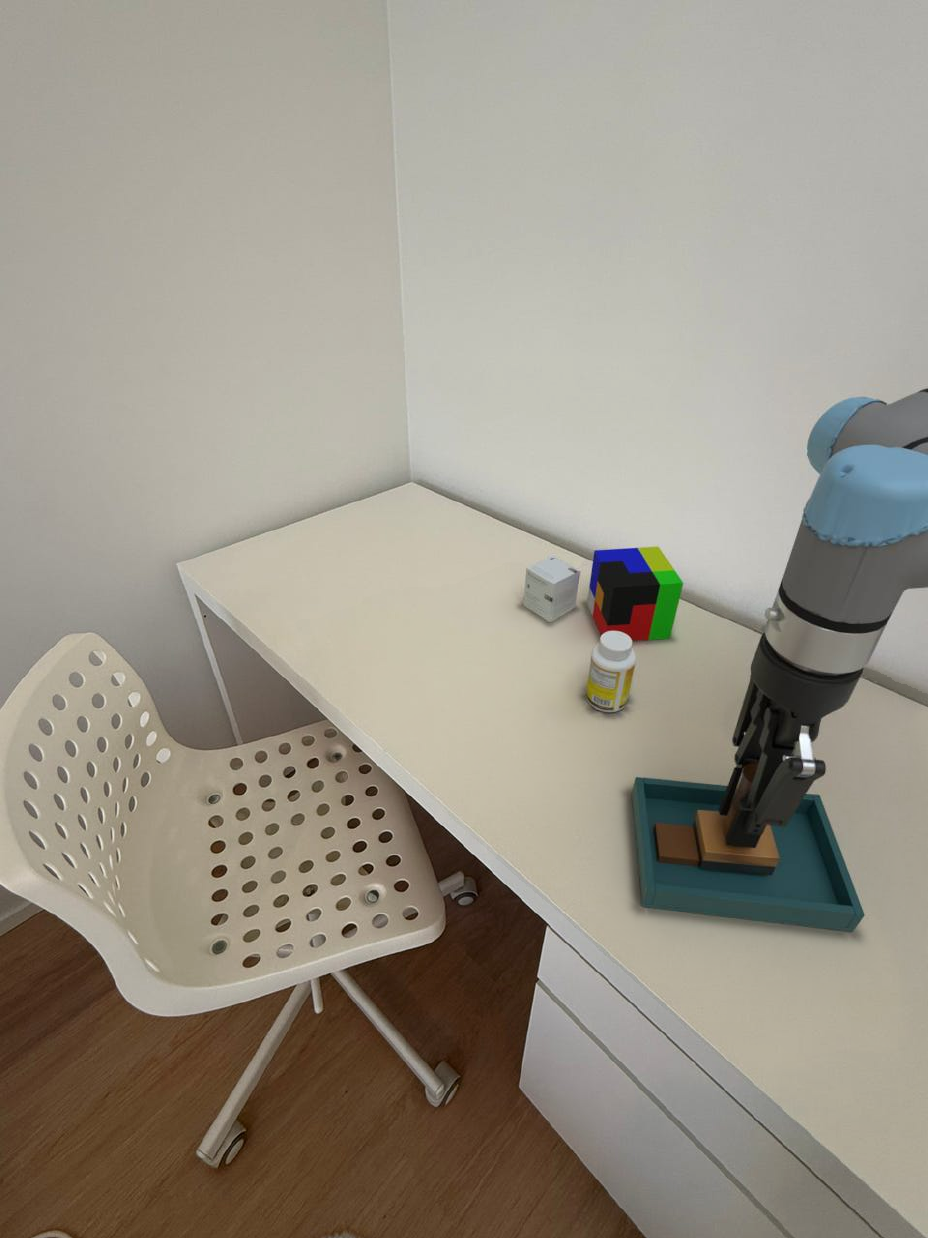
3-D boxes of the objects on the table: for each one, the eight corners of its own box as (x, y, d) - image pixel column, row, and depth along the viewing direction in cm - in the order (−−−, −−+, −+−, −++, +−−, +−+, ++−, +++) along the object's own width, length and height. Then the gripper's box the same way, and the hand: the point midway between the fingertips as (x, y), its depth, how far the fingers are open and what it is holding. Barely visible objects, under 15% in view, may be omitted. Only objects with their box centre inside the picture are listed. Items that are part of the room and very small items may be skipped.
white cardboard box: (522, 606, 103) (524, 567, 99) (548, 591, 106) (552, 553, 102) (550, 623, 99) (554, 584, 95) (576, 608, 103) (581, 569, 98)
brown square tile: (691, 833, 69) (693, 826, 68) (697, 866, 66) (699, 860, 65) (653, 829, 70) (655, 822, 69) (657, 862, 66) (659, 855, 66)
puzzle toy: (586, 604, 104) (594, 550, 98) (647, 599, 104) (658, 546, 98) (604, 643, 96) (613, 587, 90) (669, 638, 96) (683, 582, 90)
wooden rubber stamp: (760, 832, 68) (790, 756, 61) (772, 875, 65) (806, 799, 57) (692, 827, 69) (714, 751, 62) (699, 869, 65) (724, 793, 58)
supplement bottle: (618, 683, 89) (629, 624, 83) (633, 711, 84) (646, 651, 78) (579, 687, 88) (587, 628, 82) (592, 717, 84) (602, 657, 77)
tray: (810, 812, 72) (819, 794, 70) (852, 932, 61) (865, 915, 59) (631, 794, 74) (635, 776, 72) (642, 907, 63) (647, 890, 61)
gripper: (741, 586, 57) (686, 762, 71) (790, 715, 45) (711, 898, 59) (830, 593, 56) (757, 769, 71) (905, 726, 44) (797, 908, 58)
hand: (736, 827), depth 65 cm, fingers closed on wooden rubber stamp, 3 cm apart
